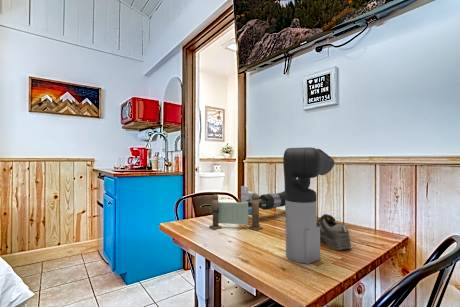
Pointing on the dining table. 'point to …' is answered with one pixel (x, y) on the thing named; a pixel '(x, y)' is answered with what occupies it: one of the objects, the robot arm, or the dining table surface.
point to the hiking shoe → (333, 233)
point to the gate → (233, 213)
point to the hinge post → (255, 212)
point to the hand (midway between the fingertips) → (242, 205)
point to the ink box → (246, 197)
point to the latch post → (215, 213)
